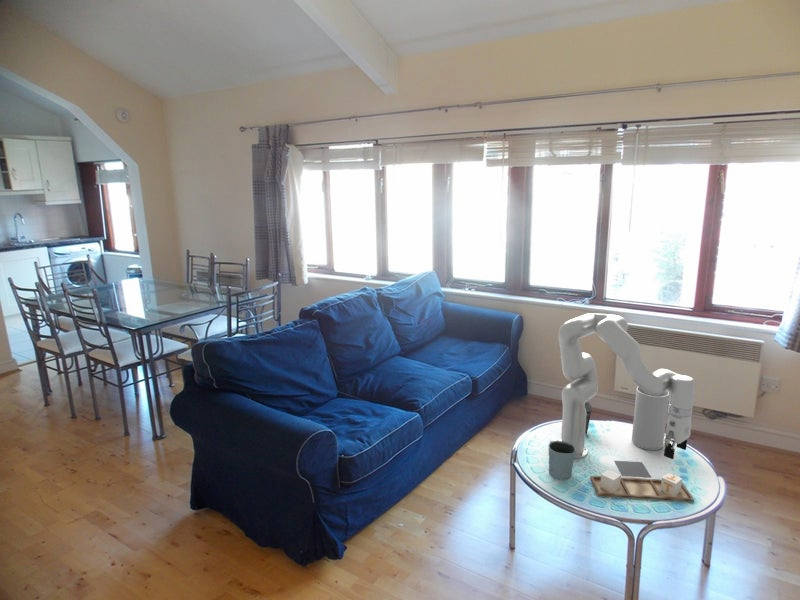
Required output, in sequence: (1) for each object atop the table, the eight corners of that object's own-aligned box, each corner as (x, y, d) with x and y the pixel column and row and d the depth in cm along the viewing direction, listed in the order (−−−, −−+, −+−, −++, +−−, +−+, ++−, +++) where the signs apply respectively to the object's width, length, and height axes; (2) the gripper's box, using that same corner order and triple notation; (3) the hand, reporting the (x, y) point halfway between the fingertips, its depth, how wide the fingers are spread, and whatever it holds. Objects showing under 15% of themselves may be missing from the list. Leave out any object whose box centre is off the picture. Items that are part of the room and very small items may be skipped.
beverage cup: (585, 437, 226) (588, 396, 222) (570, 431, 232) (573, 391, 227) (593, 432, 231) (596, 391, 226) (578, 426, 236) (581, 387, 232)
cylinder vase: (646, 452, 213) (651, 398, 207) (625, 438, 224) (630, 387, 218) (669, 448, 216) (676, 394, 210) (648, 434, 228) (653, 383, 222)
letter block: (680, 491, 185) (682, 478, 184) (674, 497, 182) (675, 483, 181) (666, 485, 189) (668, 472, 188) (660, 490, 186) (661, 477, 185)
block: (619, 488, 188) (620, 475, 187) (612, 493, 185) (613, 480, 184) (607, 482, 192) (608, 469, 191) (600, 487, 189) (601, 474, 188)
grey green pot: (541, 471, 201) (543, 444, 198) (559, 464, 205) (561, 438, 203) (561, 484, 192) (562, 456, 189) (579, 476, 197) (581, 449, 194)
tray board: (597, 497, 184) (598, 493, 184) (590, 478, 195) (590, 475, 195) (693, 502, 180) (694, 499, 179) (680, 483, 191) (680, 480, 190)
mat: (621, 476, 196) (622, 475, 196) (613, 461, 207) (614, 460, 206) (651, 478, 195) (651, 477, 194) (641, 462, 205) (642, 462, 205)
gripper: (679, 420, 170) (674, 465, 174) (701, 406, 180) (696, 449, 184) (657, 413, 176) (653, 456, 180) (680, 399, 186) (675, 441, 190)
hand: (675, 452), depth 182 cm, fingers open, 9 cm apart
